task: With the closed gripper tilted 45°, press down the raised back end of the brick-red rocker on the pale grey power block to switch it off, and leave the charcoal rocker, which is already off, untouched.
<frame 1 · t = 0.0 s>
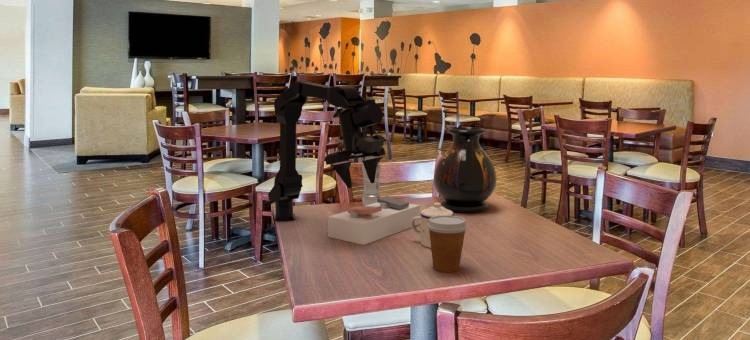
hand: (361, 185, 159), 15 cm above the table, tool pointing down, fingers open, 9 cm apart
teacup with lid: (431, 244, 157), on the table
charcoal rocker: (393, 202, 174), point 7 cm above the table, hinge at 7.0°
amphora vase: (463, 208, 199), on the table
plastic bottle: (371, 207, 200), on the table
disposable coffee cup: (446, 268, 138), on the table
power block: (375, 230, 170), on the table
red rocker: (364, 209, 163), point 8 cm above the table, hinge at -7.0°
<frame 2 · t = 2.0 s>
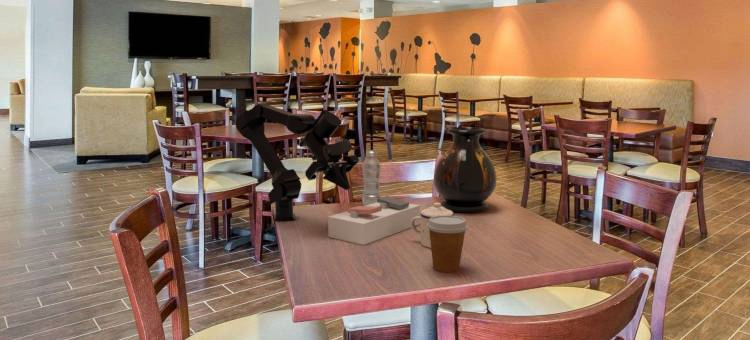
hand: (348, 189, 166), 13 cm above the table, tool tilted 45°, fingers closed
nothing on the table moved.
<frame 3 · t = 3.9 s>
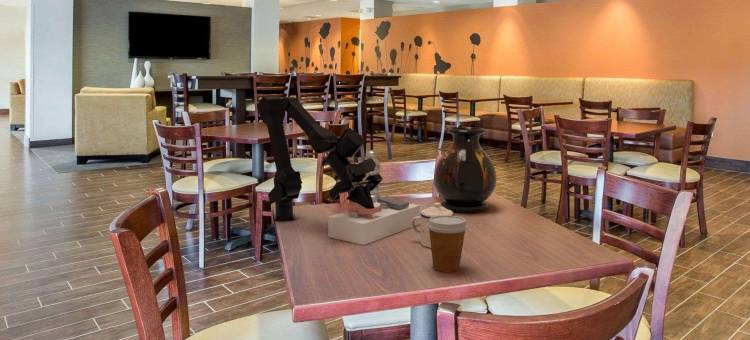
hand: (373, 209, 161), 8 cm above the table, tool tilted 45°, fingers closed, pressing on red rocker
red rocker: (364, 210, 163), point 8 cm above the table, hinge at -6.5°, touching gripper
everything else where it was.
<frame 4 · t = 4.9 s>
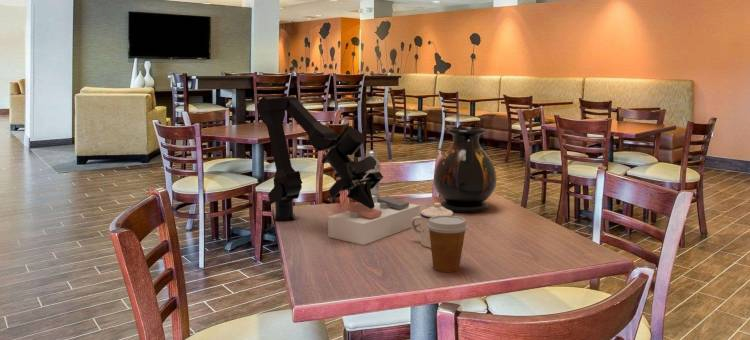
hand: (373, 207, 161), 9 cm above the table, tool tilted 45°, fingers closed
red rocker: (364, 211, 163), point 7 cm above the table, hinge at 6.9°
everything else where it was.
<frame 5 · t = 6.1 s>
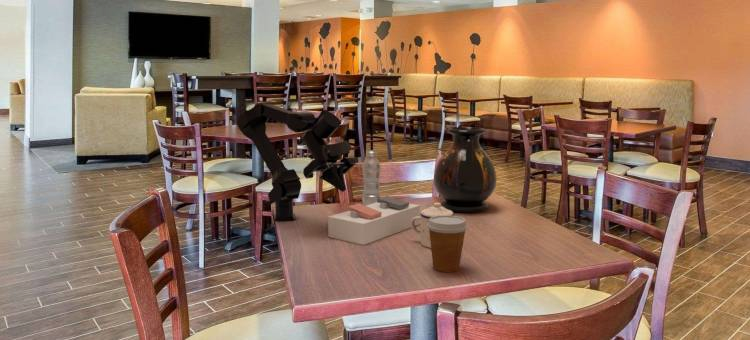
hand: (344, 190, 166), 13 cm above the table, tool tilted 40°, fingers closed
red rocker: (364, 211, 163), point 7 cm above the table, hinge at 10.1°
everything else where it was.
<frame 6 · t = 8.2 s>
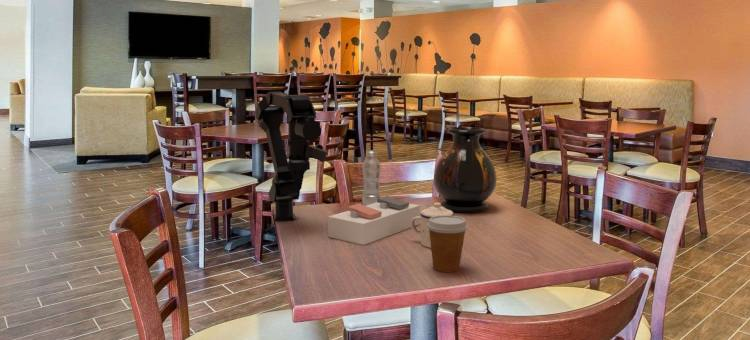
hand: (299, 189, 171), 12 cm above the table, tool pointing down, fingers closed
red rocker: (364, 211, 163), point 7 cm above the table, hinge at 8.6°
everything else where it was.
at the end: red rocker at +9° (first picture: -7°); charcoal rocker at +7° (first picture: +7°) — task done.
